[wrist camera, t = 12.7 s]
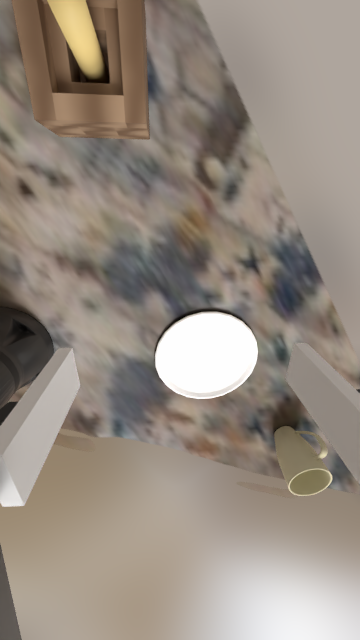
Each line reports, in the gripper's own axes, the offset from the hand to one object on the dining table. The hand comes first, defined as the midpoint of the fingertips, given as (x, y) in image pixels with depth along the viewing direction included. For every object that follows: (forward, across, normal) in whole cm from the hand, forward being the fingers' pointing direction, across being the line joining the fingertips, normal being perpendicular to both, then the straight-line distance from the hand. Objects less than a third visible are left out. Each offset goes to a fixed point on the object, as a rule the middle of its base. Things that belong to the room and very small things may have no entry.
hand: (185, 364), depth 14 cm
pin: (+28, -9, +23) cm, 37 cm away
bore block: (+29, -9, +23) cm, 38 cm away
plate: (+29, +7, -19) cm, 36 cm away
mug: (+29, +28, -41) cm, 57 cm away
